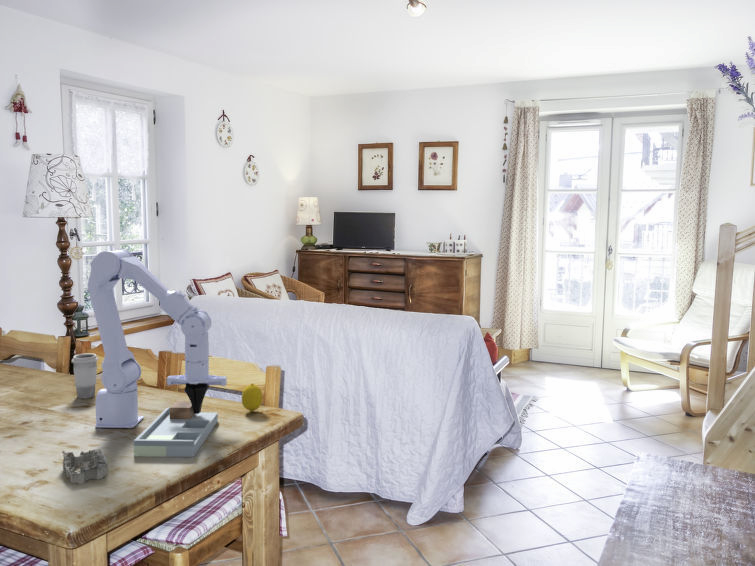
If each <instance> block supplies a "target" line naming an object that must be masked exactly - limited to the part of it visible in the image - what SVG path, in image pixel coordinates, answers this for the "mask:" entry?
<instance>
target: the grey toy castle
mask: <svg viewBox="0 0 755 566" xmlns="http://www.w3.org/2000/svg"><path fill="white" fill-rule="evenodd" d="M61 453H62V456H63V461H62V463H61V464H62V470H63V472H66V473H65V474H66V477H68V478H70V479H69V481H70V483H71V484H78V485H80V484H85V482H86V481H88V480H91V479H92V480H93V479H95V480H102V479H103V478H104V477H105V476H107V475H108V464H107V463H108V462H109V461H108V460H107V458H106V456H105V454H104V453H103V450H102V449H101V448H97V449H94V450H93V449H90V450H88V451H86V452H84V451H81V452H80V453H79V455H76V456H75V454H74V452H72V451H68V452H66V451H65V450H62V451H61ZM76 467H77V469H76Z"/></svg>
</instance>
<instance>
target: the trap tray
mask: <svg viewBox="0 0 755 566" xmlns="http://www.w3.org/2000/svg"><path fill="white" fill-rule="evenodd" d="M170 407H171V406H170ZM170 407H168V406H167V407H165V409H164V410H163V411H161V413H159V415H158V416H157V417H156V418H154V420H153V421H151V422H150V424H149V425H148V426H147V427H146V428H144V429H143V431H141V433H140V434H139V435H138V436H137V437H136V438H134V440H133V456H134V457H160V458H161V457H166V458H167V457H169V458H170V457H171V458H172V457H173V458H174V457H176V458H190V457H191V458H194V457H195V455H196V454H197V452H198V451H199V450H200V449H201V447H202V445H203V444H204V442H205V441H206V439H207V438H208V436H209V435H210V433H211V432H212V431H213V429H214V428H215V427H216V424H218V422H219V420H218V418H219V417H218V416H219V415H218V412H202V411H201V412H200V413H199V414H194V415H193V416H192V418H191V419H170Z"/></svg>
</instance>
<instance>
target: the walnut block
mask: <svg viewBox="0 0 755 566" xmlns="http://www.w3.org/2000/svg"><path fill="white" fill-rule="evenodd" d="M193 415H194V412H193V407H192V404H191V401H183V400H182V401H181V400H180V401H179V400H177V401H176V400H175V402H173V404H171V406H170V419H191V418H192V416H193Z"/></svg>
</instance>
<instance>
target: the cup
mask: <svg viewBox="0 0 755 566" xmlns="http://www.w3.org/2000/svg"><path fill="white" fill-rule="evenodd" d="M98 361H99V357H98V356H97V354H96V353H87V352H86V353H78V354H75V355H73V357H72V359H71V363H72V365H73V367H72V368H73V377H74V384H75V389H76V390H75V391H76V397H77V399H85V400H86V399H90V398H95V396H96V384H97V370H98V364H97V362H98Z"/></svg>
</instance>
